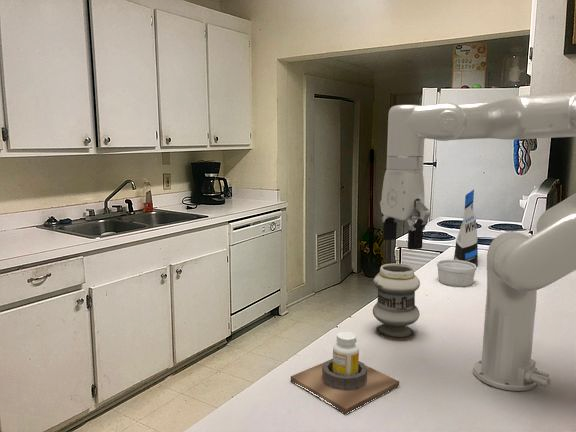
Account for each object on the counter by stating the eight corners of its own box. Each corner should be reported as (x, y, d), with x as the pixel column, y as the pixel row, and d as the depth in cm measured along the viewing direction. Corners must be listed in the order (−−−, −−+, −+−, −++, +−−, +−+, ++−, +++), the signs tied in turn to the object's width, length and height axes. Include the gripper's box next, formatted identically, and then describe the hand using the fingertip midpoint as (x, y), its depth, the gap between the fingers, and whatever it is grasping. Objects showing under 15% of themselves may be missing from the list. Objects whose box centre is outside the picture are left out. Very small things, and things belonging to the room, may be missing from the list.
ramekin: (483, 286, 166) (484, 266, 165) (453, 290, 161) (454, 270, 160) (457, 276, 178) (458, 258, 177) (428, 279, 174) (429, 261, 172)
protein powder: (448, 270, 186) (452, 194, 181) (458, 256, 207) (462, 188, 202) (473, 273, 181) (479, 195, 177) (481, 259, 203) (486, 189, 198)
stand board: (399, 386, 98) (399, 370, 98) (345, 414, 88) (346, 396, 87) (343, 359, 110) (343, 344, 110) (290, 381, 100) (290, 365, 100)
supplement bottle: (335, 385, 96) (336, 341, 95) (330, 373, 101) (330, 330, 100) (361, 384, 97) (362, 340, 95) (354, 371, 102) (355, 329, 100)
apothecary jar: (362, 331, 126) (364, 266, 124) (390, 320, 134) (393, 258, 131) (399, 346, 117) (402, 276, 114) (427, 333, 125) (431, 267, 122)
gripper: (368, 163, 107) (366, 237, 109) (413, 167, 91) (409, 254, 93) (397, 162, 109) (394, 235, 112) (446, 166, 93) (441, 251, 96)
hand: (401, 244), depth 103 cm, fingers open, 9 cm apart
